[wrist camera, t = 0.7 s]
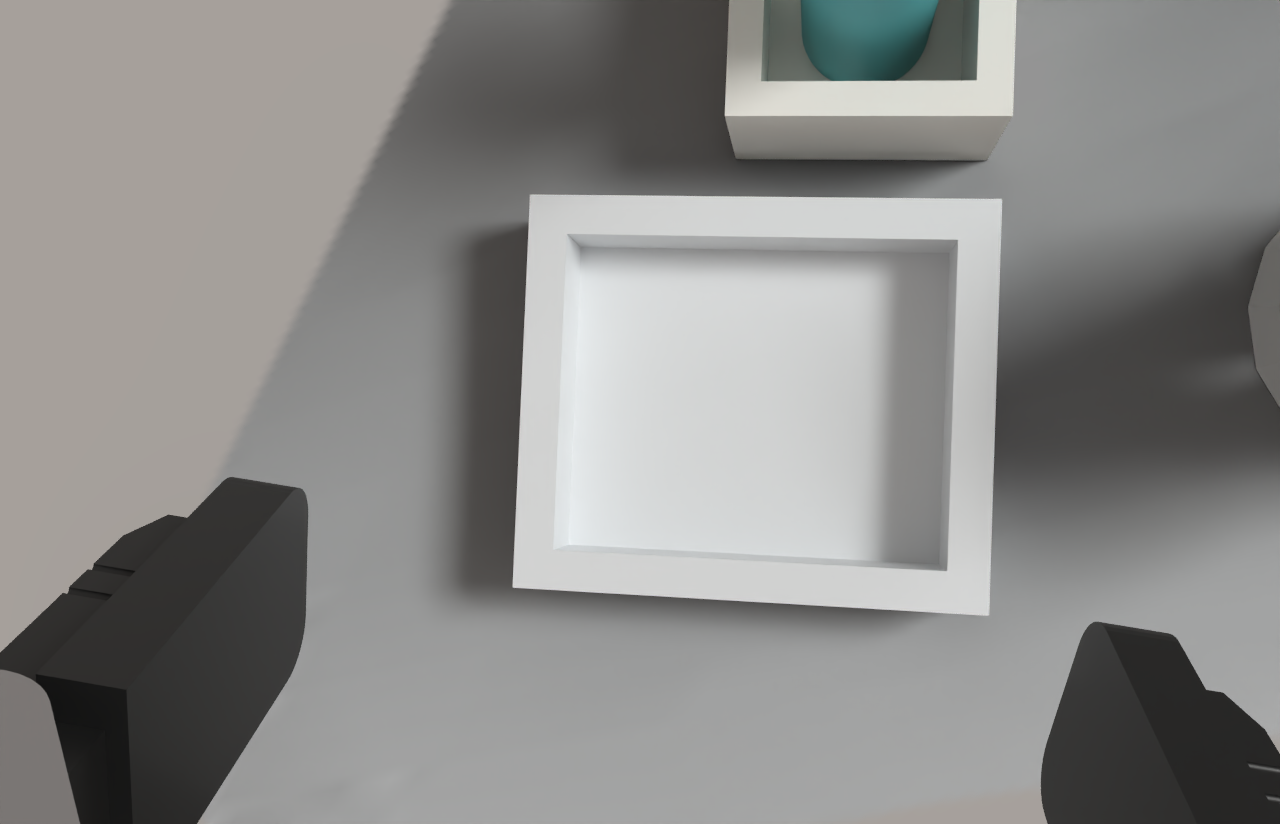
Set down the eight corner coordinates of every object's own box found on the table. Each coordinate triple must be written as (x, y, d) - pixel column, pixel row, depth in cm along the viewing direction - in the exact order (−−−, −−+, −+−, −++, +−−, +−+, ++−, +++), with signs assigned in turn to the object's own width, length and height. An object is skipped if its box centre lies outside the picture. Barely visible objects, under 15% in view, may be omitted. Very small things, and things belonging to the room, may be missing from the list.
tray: (554, 217, 40) (529, 194, 37) (984, 222, 38) (1001, 199, 35) (538, 576, 40) (512, 587, 36) (972, 601, 38) (988, 615, 34)
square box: (745, -81, 40) (735, -158, 35) (995, -87, 38) (1021, -168, 33) (735, 159, 39) (724, 115, 34) (987, 160, 38) (1012, 116, 33)
